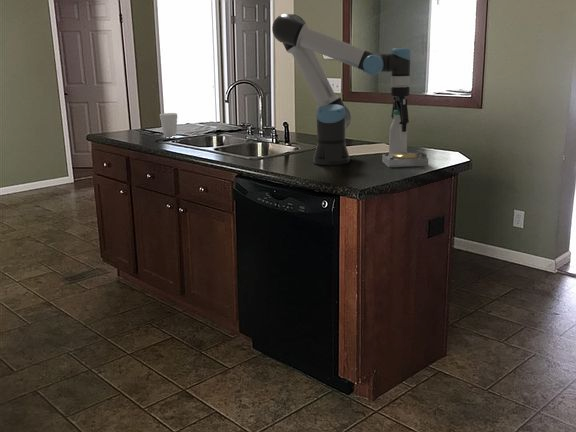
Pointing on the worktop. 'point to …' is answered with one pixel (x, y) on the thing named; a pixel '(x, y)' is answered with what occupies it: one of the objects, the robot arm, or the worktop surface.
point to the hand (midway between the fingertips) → (399, 137)
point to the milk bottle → (396, 136)
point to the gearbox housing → (405, 159)
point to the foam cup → (169, 124)
